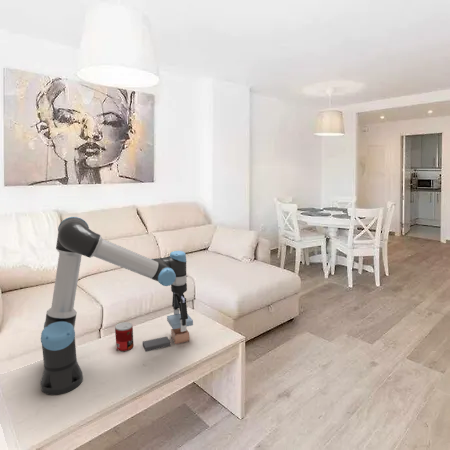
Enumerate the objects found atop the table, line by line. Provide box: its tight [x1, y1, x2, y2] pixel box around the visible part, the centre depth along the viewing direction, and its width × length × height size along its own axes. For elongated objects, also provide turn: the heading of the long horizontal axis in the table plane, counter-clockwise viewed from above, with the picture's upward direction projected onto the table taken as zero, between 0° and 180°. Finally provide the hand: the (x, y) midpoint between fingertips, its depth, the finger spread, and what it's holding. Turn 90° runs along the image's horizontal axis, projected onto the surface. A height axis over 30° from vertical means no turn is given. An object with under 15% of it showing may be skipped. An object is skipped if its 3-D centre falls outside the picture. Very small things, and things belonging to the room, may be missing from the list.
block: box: [142, 336, 172, 352], centre depth 166 cm, size 12×6×2 cm, turn 115°
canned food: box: [114, 321, 134, 352], centre depth 164 cm, size 8×8×11 cm
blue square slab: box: [166, 313, 194, 329], centre depth 170 cm, size 10×10×2 cm
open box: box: [170, 328, 190, 345], centre depth 171 cm, size 7×7×4 cm
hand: (180, 326), depth 171 cm, fingers closed on blue square slab, 10 cm apart
